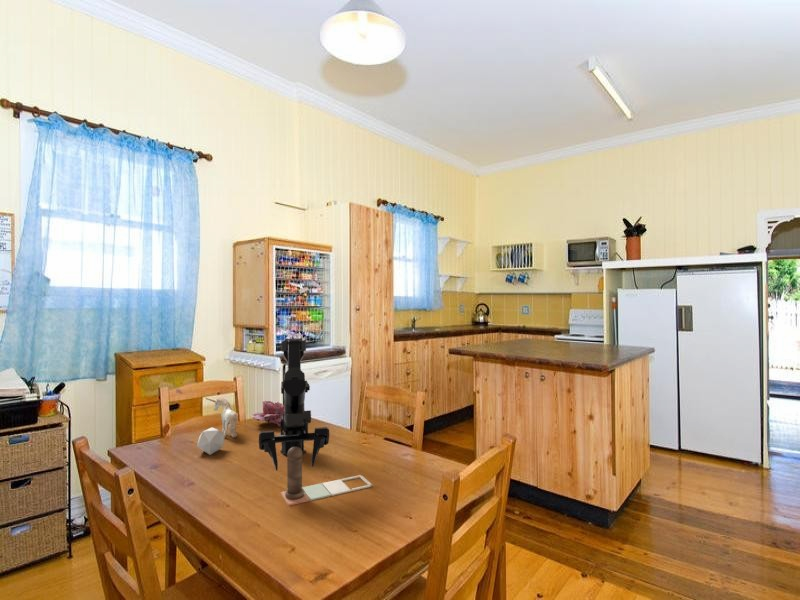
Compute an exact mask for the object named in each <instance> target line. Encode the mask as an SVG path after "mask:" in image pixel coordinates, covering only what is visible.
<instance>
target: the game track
mask: <svg viewBox="0 0 800 600" xmlns="http://www.w3.org/2000/svg"><path fill="white" fill-rule="evenodd" d="M354 479H361V480H362V481H363V483H366V484H365V485H362V486H357V487H352V488H351V489H350V487H348V485H347V484H346V483H345V481H349V480H354ZM373 486H374V485H373V484H372V483H371V482H370V481H369V480H368V479H366V477H364V476H363V475H361V474H358V475H354V476H350V477H349V476H348V477H345V478H340V479H335V480H331V481H327V482H326V481H324V482H320V483H315V484H310V485H307V486H302V488H303V489H304V496H303V497H302V498H300V499H296V500H289V499H286V497H285V491H286V490H285V491H284V490H283V491H280V495H281V497H282V498H283V500H284V501H285V503H286V505H287V506H288V507H290V506H294V505H298V504H302V503H307V502H312V501H316V500H319V499H324V498H328V497H331V496H332V497H333V496H338V495H341V494H346V493H350V492H354V491H359V490H364V489H367V488H372V487H373Z"/></svg>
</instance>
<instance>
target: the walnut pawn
mask: <svg viewBox="0 0 800 600" xmlns="http://www.w3.org/2000/svg"><path fill="white" fill-rule="evenodd" d="M286 458H287V459H286V460H287V463H286V466H287V467H286V468H287V469H286V470H287V474H286V475H287V476H286V478H287V480H286V481H287V482H286V483H287V484H286V490H285V497H286V499H289V500H296V499H300V498H302V497H303V496H304V489H303V488H302V487H303V453H302V450H301V449H300V448H299V447H296V446H295V447H291V448H290V449H289V450H288V452H287V455H286Z"/></svg>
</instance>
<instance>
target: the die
mask: <svg viewBox="0 0 800 600" xmlns="http://www.w3.org/2000/svg"><path fill="white" fill-rule="evenodd" d="M224 436H225V435H224V434H223V433H222V431H220V430H219V429H217V428H215V427H213V426H212V427H209V428H208V429H205V430H203V431H202V432H201V434H200V435H199V437H198V441H197V445H196V446H197V448H198V449H199V450H201V451H203V452H204V453H206V454H208V455H209V456H210V455H213V454H214V453H216V452H218V451H220V450H221V449H222V447H223V445H224V444H225V443H224V442H225V438H224Z"/></svg>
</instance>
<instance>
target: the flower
mask: <svg viewBox="0 0 800 600" xmlns="http://www.w3.org/2000/svg"><path fill="white" fill-rule="evenodd" d="M283 413H284V404H283V403H281V402H279V401H276V402H273V401H271V400H269V401H268V400H265V401H262V412H253V413H252V416H253V417H252V418H253V420H256V421H263V422H265V423H267V424H268V426H269V424H274V425H277V427H278V428H279V427H280V428H281V419H283Z"/></svg>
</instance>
